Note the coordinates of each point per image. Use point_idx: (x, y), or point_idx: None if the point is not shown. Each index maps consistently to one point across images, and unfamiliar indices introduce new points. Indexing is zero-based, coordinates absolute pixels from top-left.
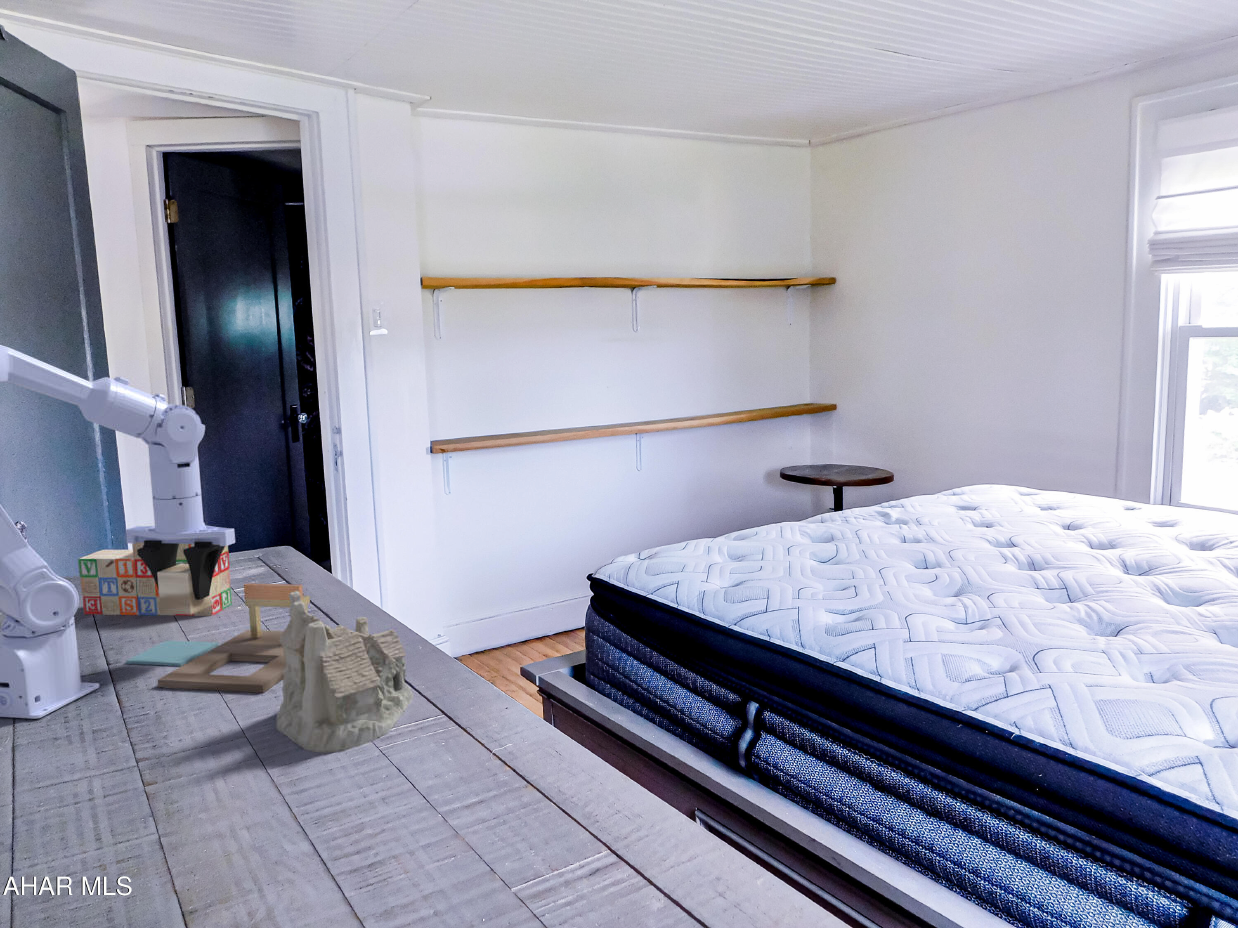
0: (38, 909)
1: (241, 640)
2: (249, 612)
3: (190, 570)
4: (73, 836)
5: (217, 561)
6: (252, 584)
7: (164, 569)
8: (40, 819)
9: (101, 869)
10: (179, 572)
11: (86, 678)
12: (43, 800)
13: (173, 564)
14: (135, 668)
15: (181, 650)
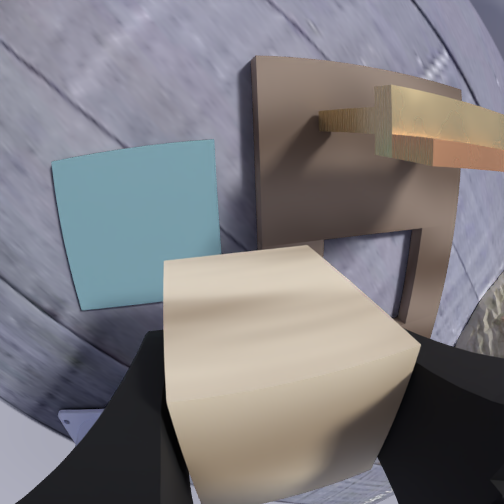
0: (378, 501)
1: (297, 144)
2: (358, 132)
3: (385, 468)
4: (364, 491)
5: (485, 358)
6: (456, 158)
7: (183, 485)
8: (336, 498)
9: (390, 487)
10: (325, 481)
11: (88, 378)
12: (322, 496)
13: (166, 449)
14: (129, 323)
15: (155, 219)
